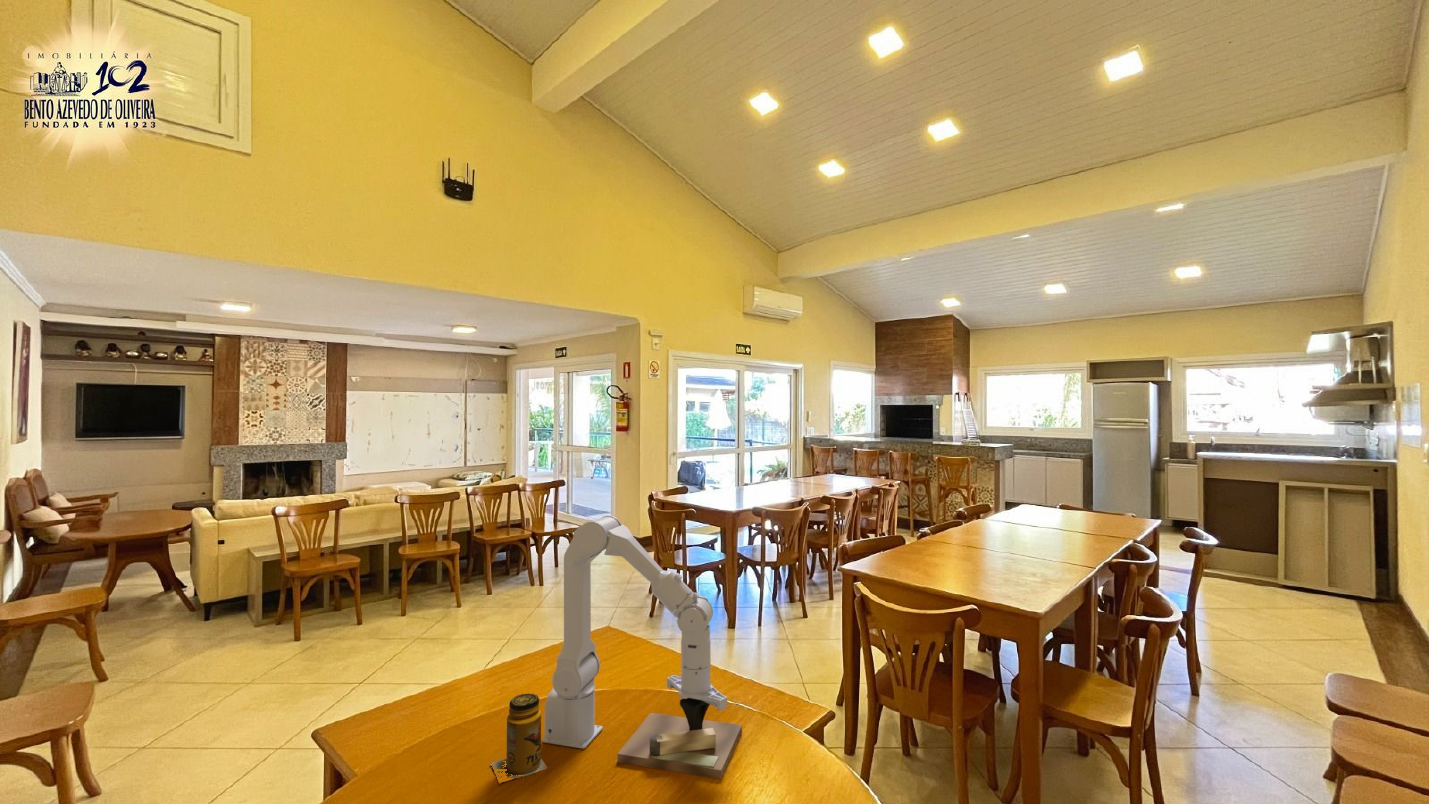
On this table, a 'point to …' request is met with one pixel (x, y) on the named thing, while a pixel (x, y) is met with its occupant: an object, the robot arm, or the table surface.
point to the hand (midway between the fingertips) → (696, 736)
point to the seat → (684, 762)
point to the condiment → (523, 737)
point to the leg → (682, 741)
